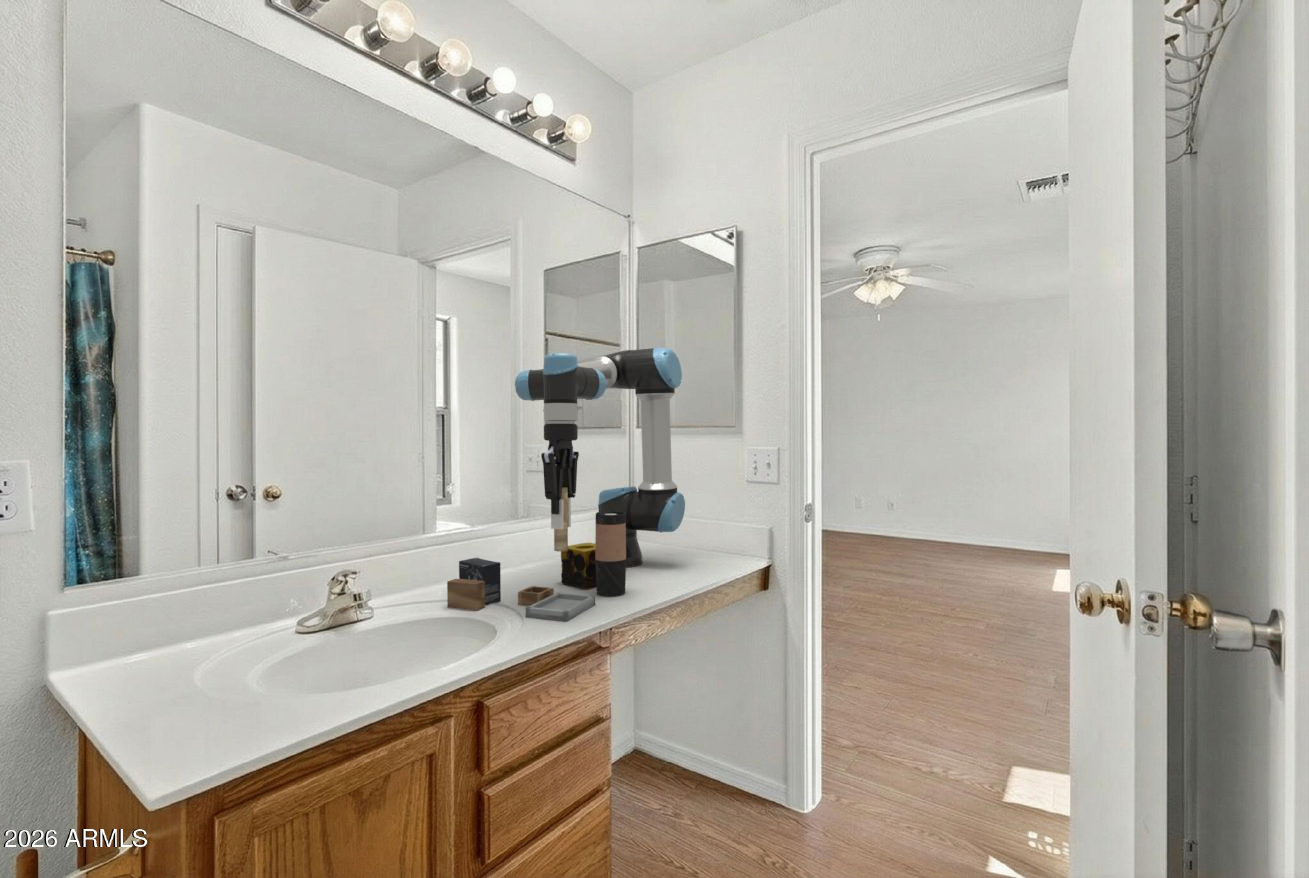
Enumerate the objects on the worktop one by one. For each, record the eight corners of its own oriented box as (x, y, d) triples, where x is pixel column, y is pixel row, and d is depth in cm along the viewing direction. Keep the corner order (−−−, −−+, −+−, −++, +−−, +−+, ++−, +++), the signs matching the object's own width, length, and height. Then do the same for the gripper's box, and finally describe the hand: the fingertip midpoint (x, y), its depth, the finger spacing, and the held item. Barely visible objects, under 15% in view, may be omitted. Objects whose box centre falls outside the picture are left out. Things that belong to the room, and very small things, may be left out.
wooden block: (455, 604, 147) (455, 578, 147) (484, 607, 144) (484, 581, 144) (447, 607, 144) (447, 581, 144) (476, 610, 142) (476, 584, 142)
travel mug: (621, 597, 152) (621, 515, 152) (591, 596, 154) (591, 514, 154) (629, 590, 160) (629, 511, 160) (600, 588, 161) (600, 510, 161)
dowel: (558, 548, 143) (558, 487, 143) (570, 549, 142) (569, 487, 142) (551, 550, 140) (551, 488, 140) (563, 551, 139) (563, 488, 139)
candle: (614, 583, 167) (614, 546, 167) (585, 590, 160) (585, 551, 160) (589, 577, 174) (589, 541, 174) (560, 584, 167) (560, 546, 167)
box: (458, 600, 151) (457, 560, 151) (477, 595, 156) (477, 556, 155) (482, 606, 145) (481, 565, 145) (501, 601, 150) (501, 561, 150)
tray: (557, 600, 150) (557, 592, 150) (595, 604, 146) (595, 596, 146) (525, 617, 137) (525, 607, 137) (566, 621, 133) (566, 612, 133)
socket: (531, 598, 152) (531, 585, 152) (553, 600, 150) (553, 587, 150) (518, 604, 147) (518, 591, 147) (540, 606, 144) (540, 593, 144)
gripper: (562, 423, 150) (563, 522, 150) (527, 422, 135) (527, 531, 135) (591, 423, 147) (591, 523, 147) (558, 422, 132) (558, 533, 132)
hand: (561, 527), depth 141 cm, fingers closed on dowel, 3 cm apart
